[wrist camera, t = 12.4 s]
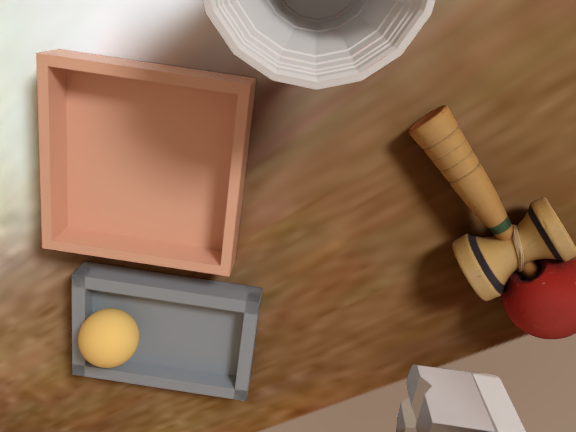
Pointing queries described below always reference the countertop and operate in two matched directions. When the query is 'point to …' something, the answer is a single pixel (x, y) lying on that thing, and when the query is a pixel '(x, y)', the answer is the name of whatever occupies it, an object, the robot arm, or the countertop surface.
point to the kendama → (505, 239)
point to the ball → (108, 338)
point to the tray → (172, 328)
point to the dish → (142, 160)
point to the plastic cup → (318, 36)
